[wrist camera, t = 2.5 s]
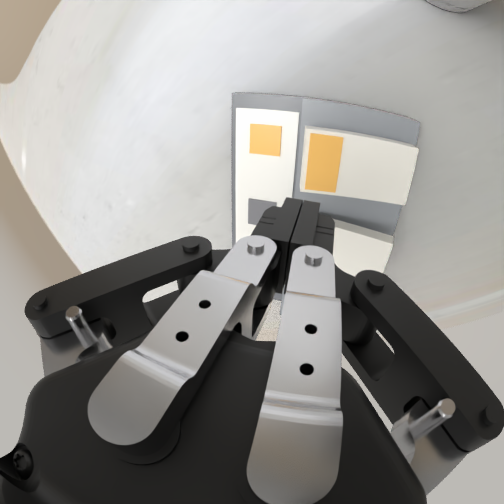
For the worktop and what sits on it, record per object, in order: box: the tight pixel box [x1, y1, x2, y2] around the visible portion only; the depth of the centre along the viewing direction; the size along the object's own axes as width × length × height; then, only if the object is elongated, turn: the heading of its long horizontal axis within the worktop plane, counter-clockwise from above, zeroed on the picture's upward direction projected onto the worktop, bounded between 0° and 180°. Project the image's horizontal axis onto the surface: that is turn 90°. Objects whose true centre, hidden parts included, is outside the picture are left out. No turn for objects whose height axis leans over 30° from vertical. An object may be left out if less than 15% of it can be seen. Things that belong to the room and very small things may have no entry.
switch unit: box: [232, 93, 420, 315], centre depth 28 cm, size 25×17×4 cm
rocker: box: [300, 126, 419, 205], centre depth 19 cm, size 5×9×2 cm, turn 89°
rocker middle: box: [332, 218, 394, 276], centre depth 24 cm, size 5×9×2 cm, turn 89°
